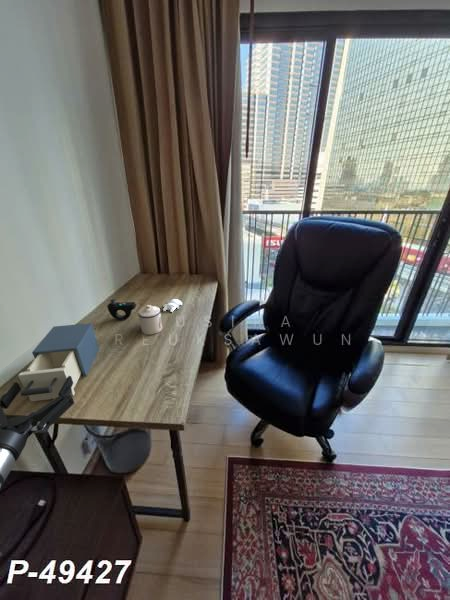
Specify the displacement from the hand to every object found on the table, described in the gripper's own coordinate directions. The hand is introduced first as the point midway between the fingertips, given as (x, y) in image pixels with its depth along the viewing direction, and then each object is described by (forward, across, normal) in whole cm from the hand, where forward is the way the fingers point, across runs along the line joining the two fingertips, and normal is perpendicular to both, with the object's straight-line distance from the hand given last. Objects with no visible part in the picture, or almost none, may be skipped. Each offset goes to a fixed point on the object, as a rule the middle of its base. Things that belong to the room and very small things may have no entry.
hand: (44, 382), depth 70 cm
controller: (+46, +12, -8) cm, 48 cm away
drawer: (+4, 0, -6) cm, 8 cm away
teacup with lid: (+36, +25, -8) cm, 45 cm away
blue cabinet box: (+17, 0, -7) cm, 18 cm away
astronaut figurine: (+54, +33, -8) cm, 64 cm away
